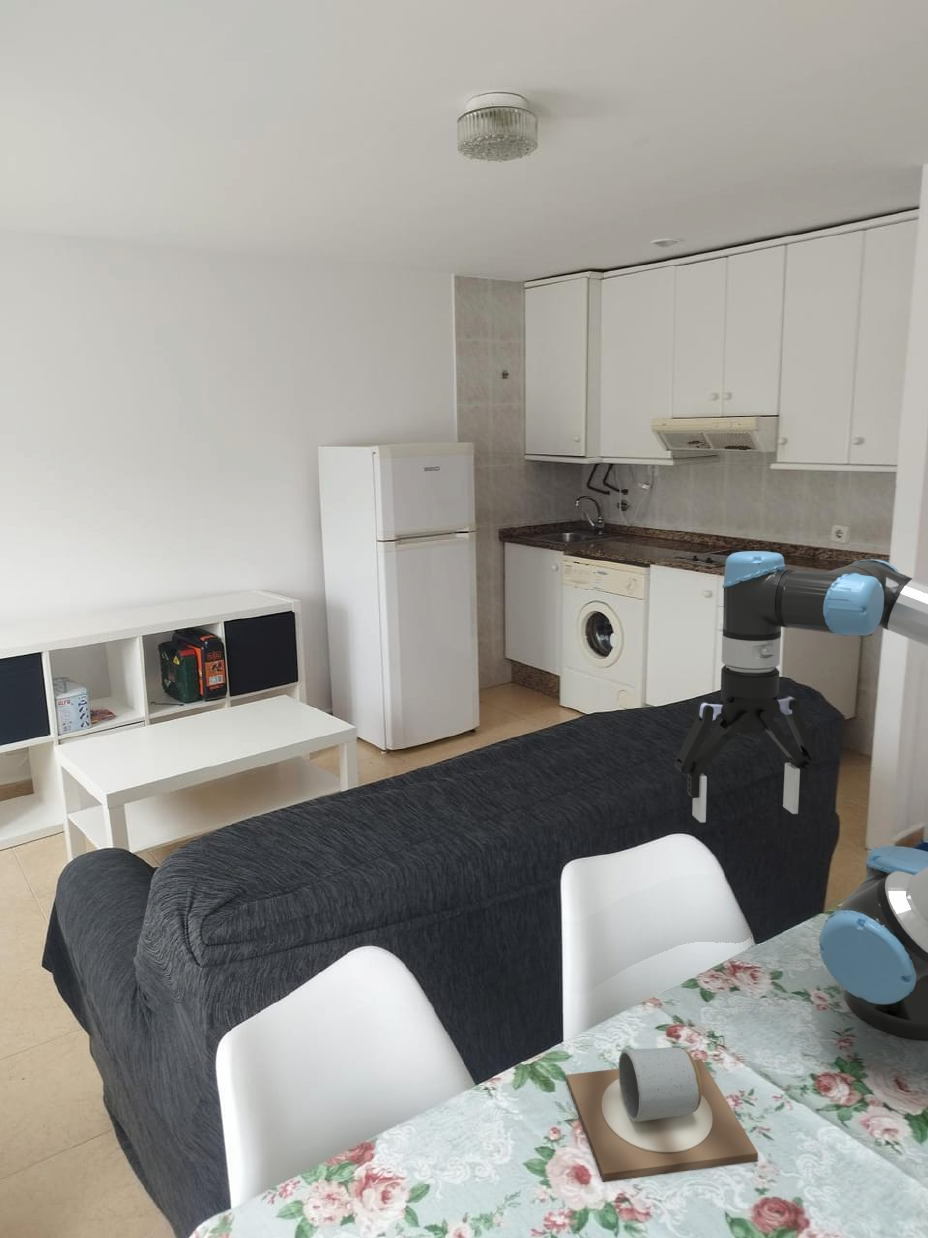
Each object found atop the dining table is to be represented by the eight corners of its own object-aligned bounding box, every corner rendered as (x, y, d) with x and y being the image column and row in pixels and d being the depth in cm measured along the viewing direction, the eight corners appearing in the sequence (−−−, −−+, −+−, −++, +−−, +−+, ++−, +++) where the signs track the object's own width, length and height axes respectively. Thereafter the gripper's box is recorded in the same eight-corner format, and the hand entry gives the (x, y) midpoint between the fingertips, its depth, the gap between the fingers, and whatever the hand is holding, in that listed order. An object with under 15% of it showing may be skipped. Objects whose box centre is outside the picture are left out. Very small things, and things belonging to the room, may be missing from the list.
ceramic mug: (705, 1127, 104) (706, 1068, 103) (638, 1138, 102) (638, 1078, 101) (668, 1068, 114) (669, 1013, 113) (607, 1077, 113) (607, 1021, 111)
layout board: (701, 1065, 116) (701, 1056, 116) (757, 1161, 101) (758, 1151, 100) (566, 1081, 114) (566, 1072, 113) (603, 1182, 98) (603, 1171, 98)
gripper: (673, 679, 115) (670, 833, 119) (851, 667, 119) (842, 817, 123) (652, 665, 122) (650, 811, 126) (820, 654, 126) (813, 796, 130)
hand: (745, 814), depth 124 cm, fingers open, 13 cm apart
